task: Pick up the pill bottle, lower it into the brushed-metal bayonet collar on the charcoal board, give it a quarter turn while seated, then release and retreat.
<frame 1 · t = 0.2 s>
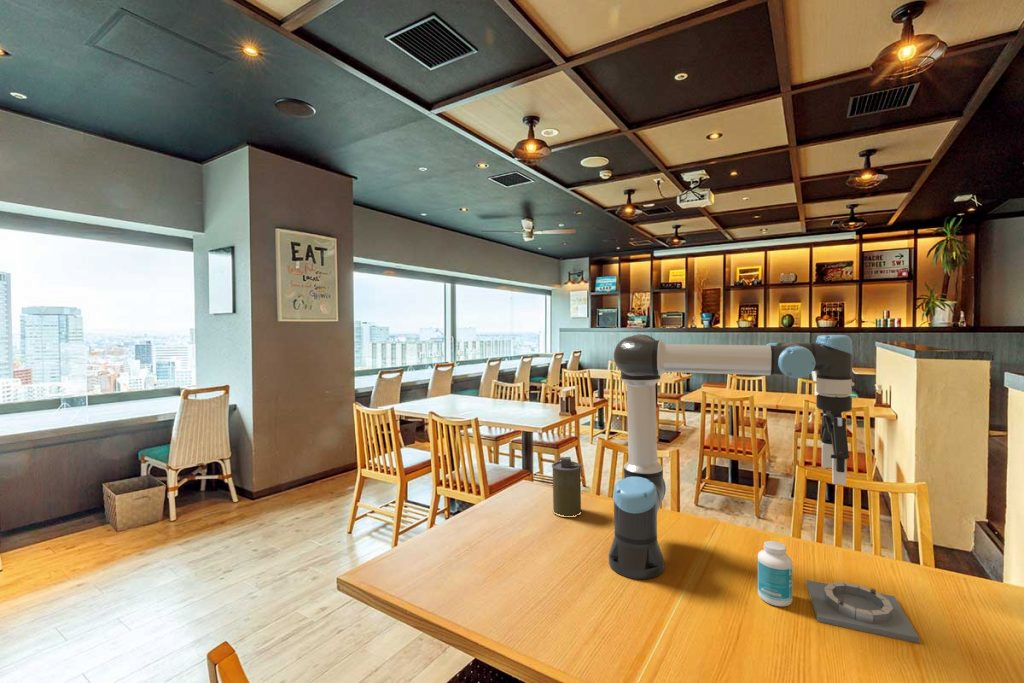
hand: (833, 475, 120), 28 cm above the table, fingers open, 13 cm apart
board: (857, 610, 108), on the table
collar: (857, 600, 107), on the board, point 2 cm above the table
canister: (567, 512, 167), on the table
pill bottle: (774, 599, 113), on the table
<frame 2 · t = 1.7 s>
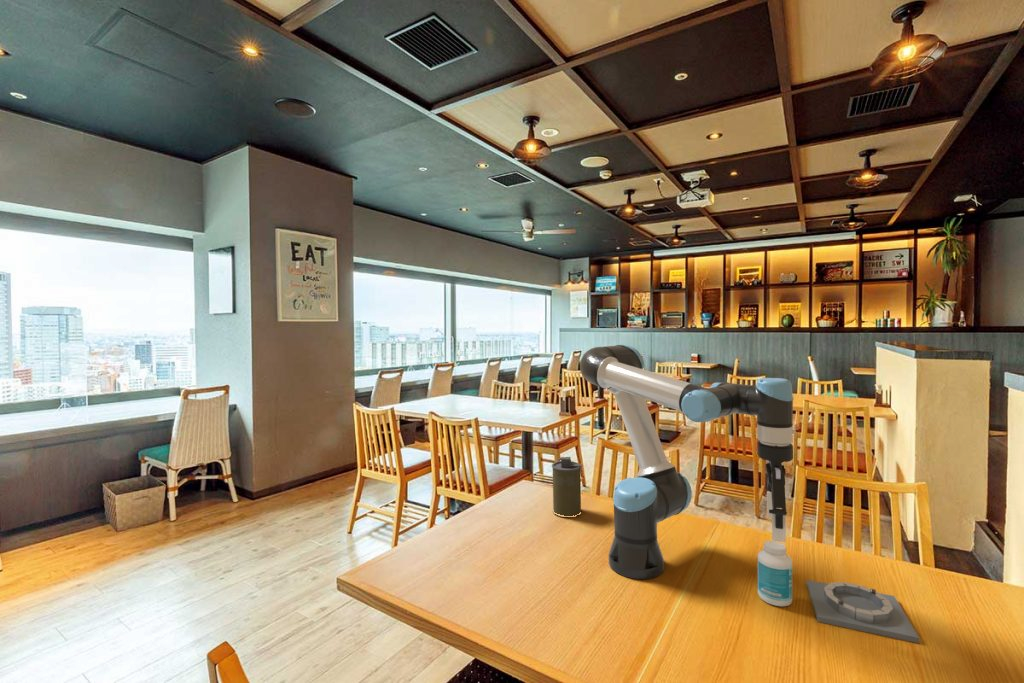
hand: (775, 528, 112), 18 cm above the table, fingers open, 13 cm apart
nothing on the table moved.
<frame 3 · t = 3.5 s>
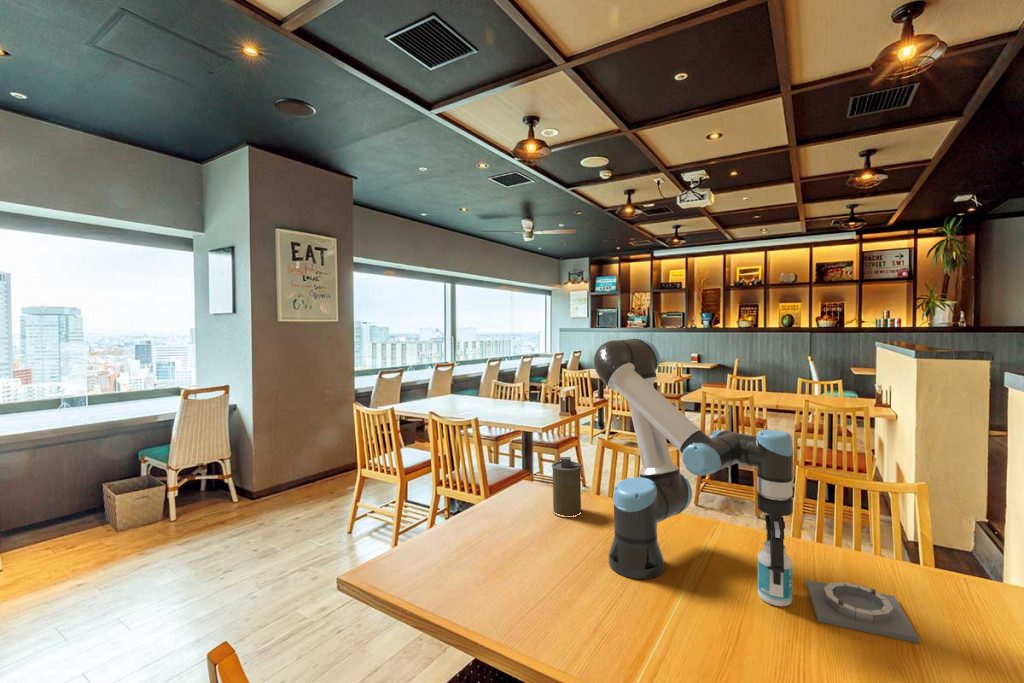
hand: (774, 586, 113), 3 cm above the table, fingers closed on pill bottle, 7 cm apart
pill bottle: (774, 599, 113), on the table, touching gripper
everything else where it was.
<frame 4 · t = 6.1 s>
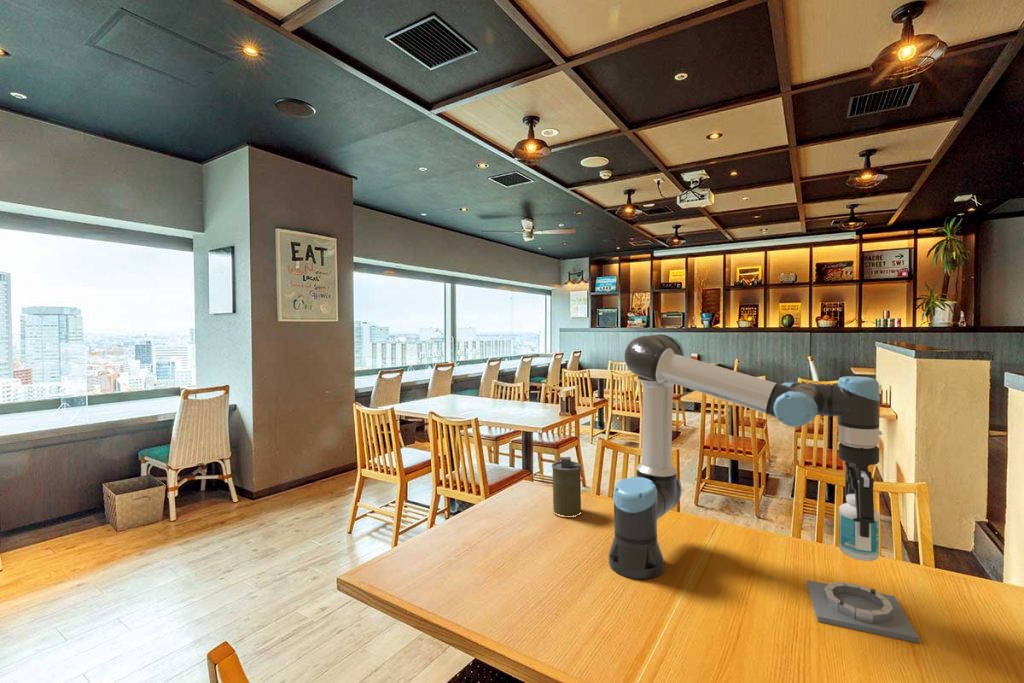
hand: (858, 541, 107), 17 cm above the table, fingers closed on pill bottle, 7 cm apart
pill bottle: (858, 555, 107), point 13 cm above the table, touching gripper
everything else where it was.
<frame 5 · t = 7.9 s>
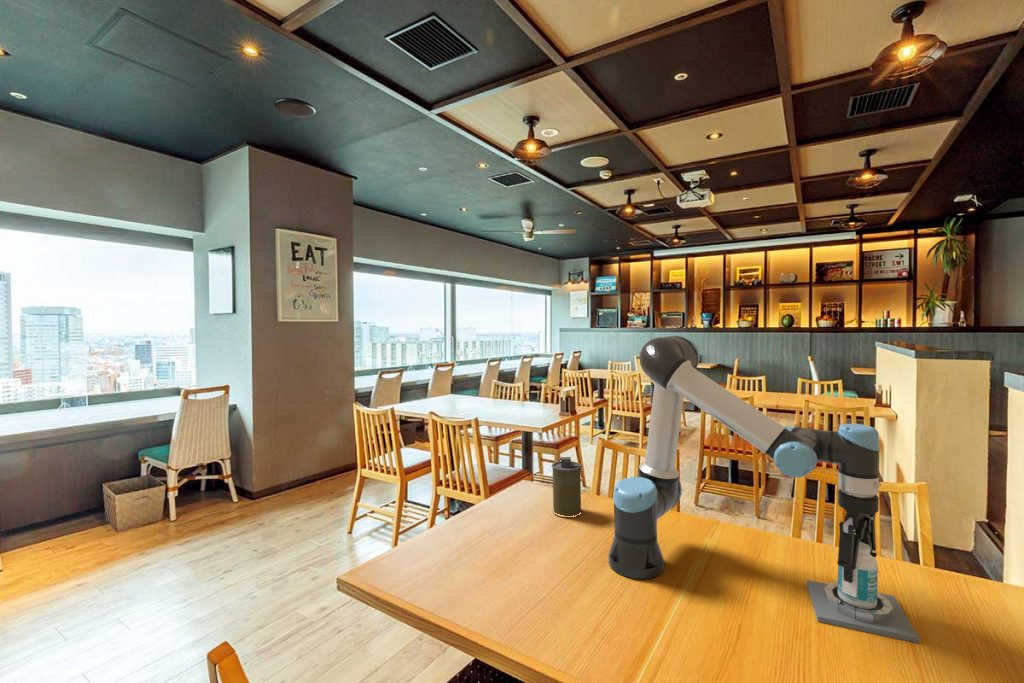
hand: (856, 587, 107), 5 cm above the table, fingers closed on pill bottle, 7 cm apart
pill bottle: (857, 601, 107), point 2 cm above the table, touching gripper
everything else where it was.
when the fingers open (5 cm above the table, at t = 9.2 s): pill bottle stays where it is, resting on board.
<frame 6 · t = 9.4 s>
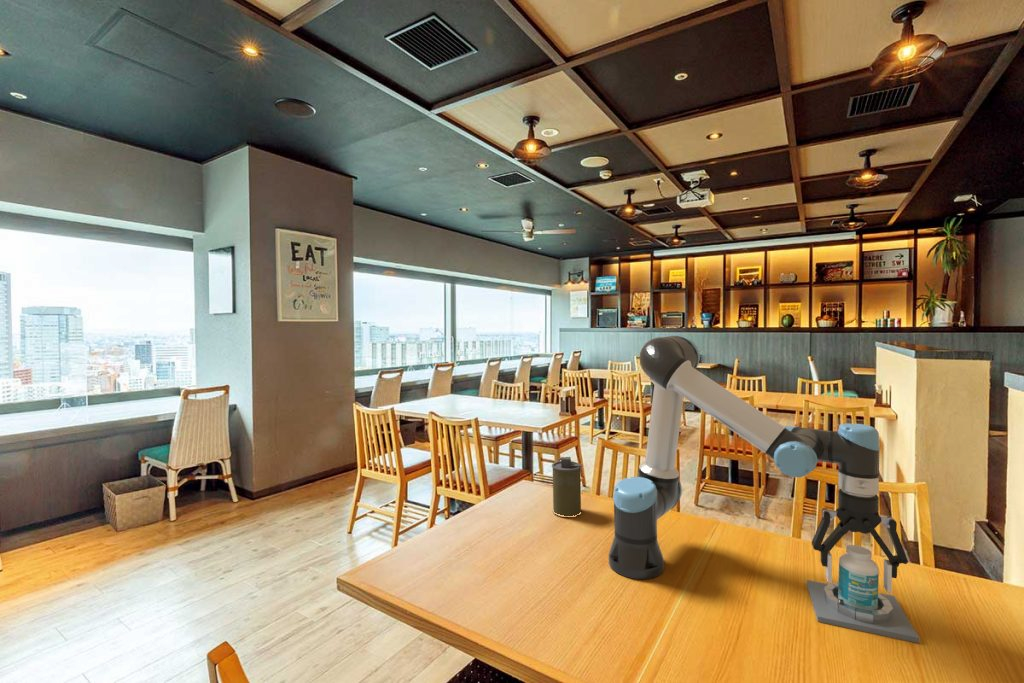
hand: (857, 584, 107), 6 cm above the table, fingers open, 10 cm apart
pill bottle: (857, 606, 107), point 1 cm above the table, touching board
everything else where it was.
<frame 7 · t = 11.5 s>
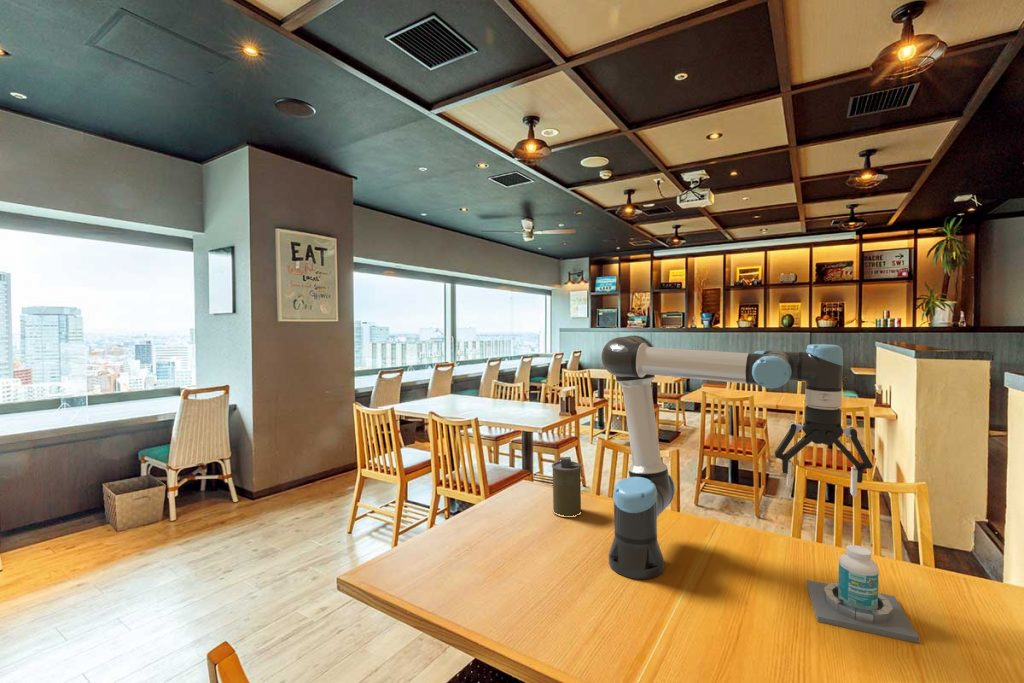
hand: (820, 490, 115), 25 cm above the table, fingers open, 13 cm apart
nothing on the table moved.
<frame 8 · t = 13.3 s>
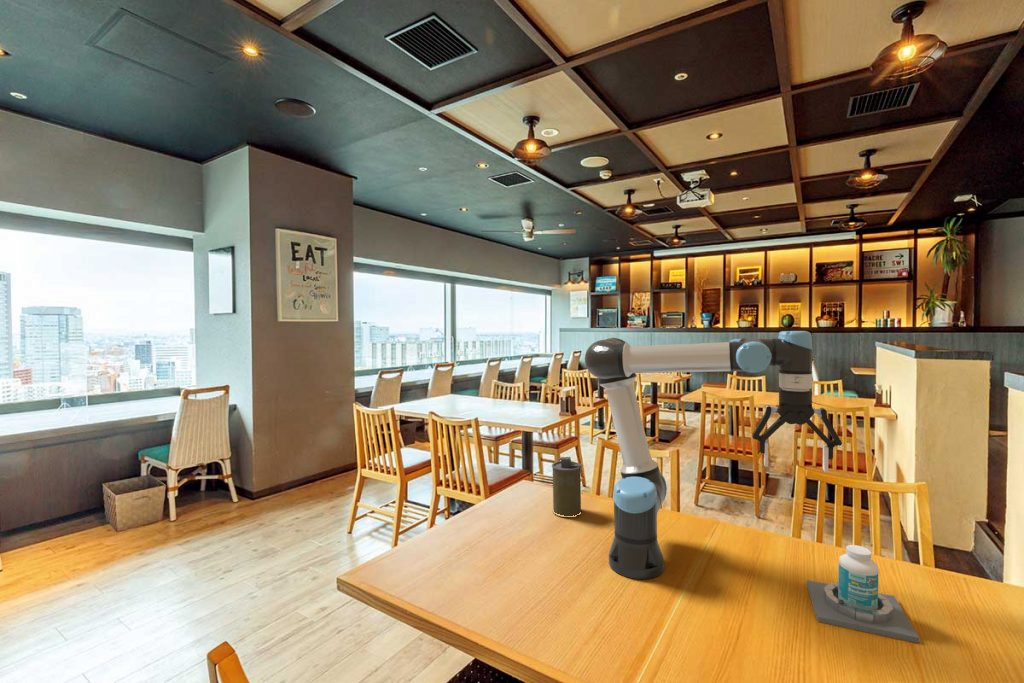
hand: (795, 468, 123), 29 cm above the table, fingers open, 13 cm apart
nothing on the table moved.
at the end: pill bottle 0.1 cm off-centre on the collar, point 1.0 cm above the collar's base; pill bottle tilted 0°; the gripper is holding nothing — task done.
